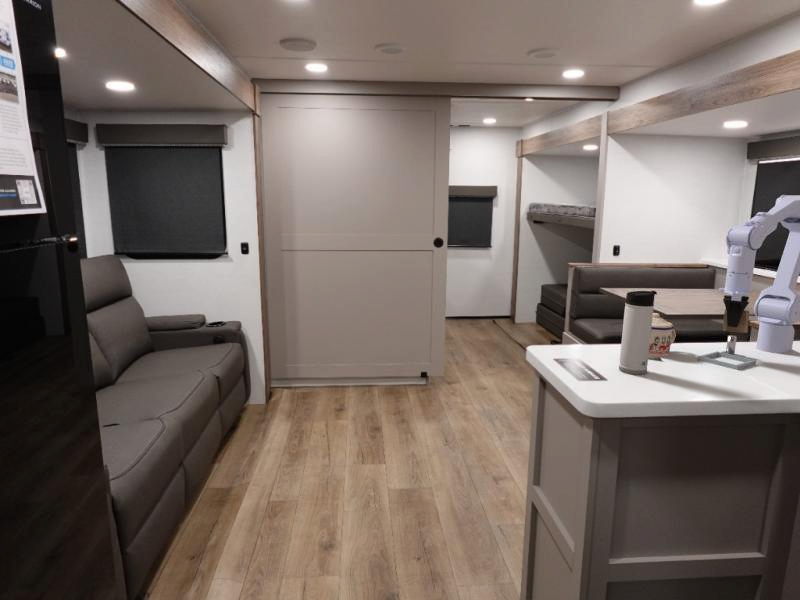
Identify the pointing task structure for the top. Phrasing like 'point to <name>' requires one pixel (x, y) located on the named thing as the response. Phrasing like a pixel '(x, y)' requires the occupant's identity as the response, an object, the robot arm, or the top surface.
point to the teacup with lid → (660, 337)
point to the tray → (739, 366)
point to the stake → (731, 346)
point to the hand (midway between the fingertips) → (732, 324)
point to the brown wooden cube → (741, 326)
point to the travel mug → (636, 332)
